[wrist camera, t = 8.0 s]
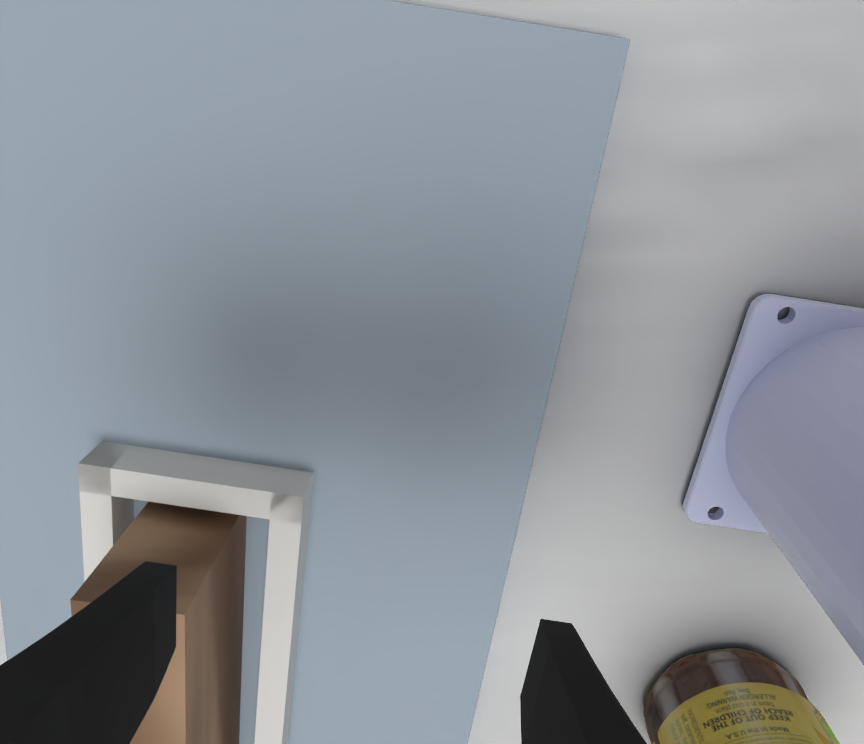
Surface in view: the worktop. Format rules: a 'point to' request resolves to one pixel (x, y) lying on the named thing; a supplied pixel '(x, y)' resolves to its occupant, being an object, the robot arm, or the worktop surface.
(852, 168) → the worktop surface
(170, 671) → the wooden block
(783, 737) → the brown medicine bottle
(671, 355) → the worktop surface
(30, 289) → the wall board
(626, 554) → the worktop surface
